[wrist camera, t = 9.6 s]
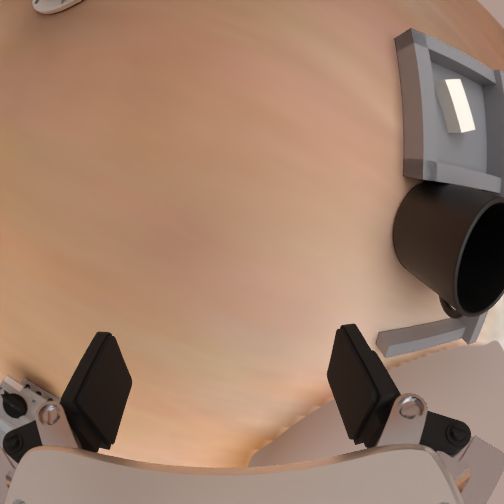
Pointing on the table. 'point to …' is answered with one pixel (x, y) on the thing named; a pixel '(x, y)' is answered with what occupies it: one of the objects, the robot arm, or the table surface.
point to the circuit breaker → (19, 403)
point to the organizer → (446, 153)
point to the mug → (454, 245)
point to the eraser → (454, 105)
